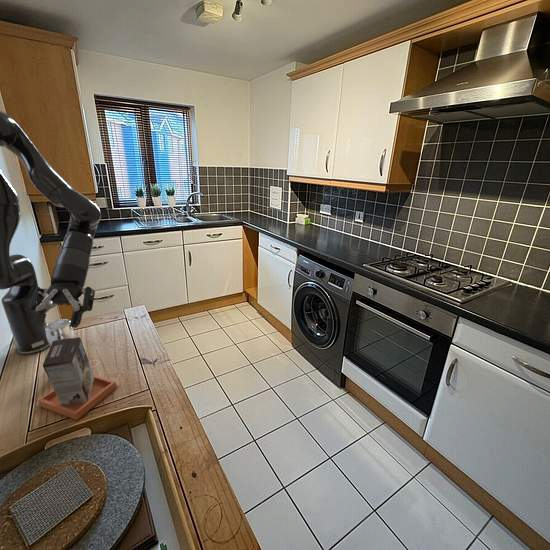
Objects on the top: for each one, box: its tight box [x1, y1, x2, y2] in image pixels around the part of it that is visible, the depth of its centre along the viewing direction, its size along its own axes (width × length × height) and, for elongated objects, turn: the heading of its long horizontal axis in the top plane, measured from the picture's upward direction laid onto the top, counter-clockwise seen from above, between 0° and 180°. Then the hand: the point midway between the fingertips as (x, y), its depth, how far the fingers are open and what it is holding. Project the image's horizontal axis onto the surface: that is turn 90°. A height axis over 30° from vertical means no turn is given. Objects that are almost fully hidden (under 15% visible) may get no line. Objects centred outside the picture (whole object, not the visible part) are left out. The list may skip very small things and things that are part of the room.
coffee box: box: [42, 336, 95, 407], centre depth 77 cm, size 9×6×16 cm
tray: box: [37, 374, 118, 421], centre depth 81 cm, size 14×13×2 cm
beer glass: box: [44, 318, 76, 348], centre depth 92 cm, size 7×7×15 cm
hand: (55, 327), depth 73 cm, fingers open, 8 cm apart
